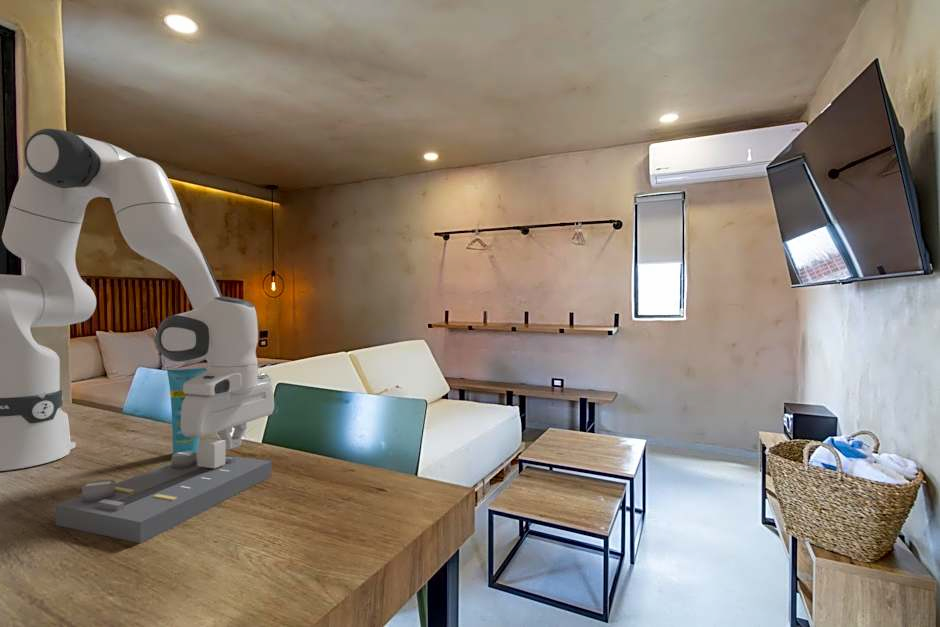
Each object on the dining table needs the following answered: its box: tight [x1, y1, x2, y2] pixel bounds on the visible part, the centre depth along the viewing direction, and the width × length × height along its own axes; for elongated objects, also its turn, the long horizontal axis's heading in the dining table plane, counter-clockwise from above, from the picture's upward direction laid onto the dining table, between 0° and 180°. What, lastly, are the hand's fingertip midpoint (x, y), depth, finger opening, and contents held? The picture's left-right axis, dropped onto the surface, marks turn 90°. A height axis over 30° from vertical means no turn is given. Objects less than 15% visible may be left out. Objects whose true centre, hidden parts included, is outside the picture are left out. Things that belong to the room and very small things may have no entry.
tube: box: [166, 367, 208, 455], centre depth 99 cm, size 7×5×19 cm, turn 123°
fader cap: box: [197, 438, 227, 469], centre depth 84 cm, size 4×2×5 cm, turn 74°
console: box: [55, 451, 273, 544], centre depth 77 cm, size 17×26×5 cm, turn 164°
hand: (232, 447), depth 89 cm, fingers closed
